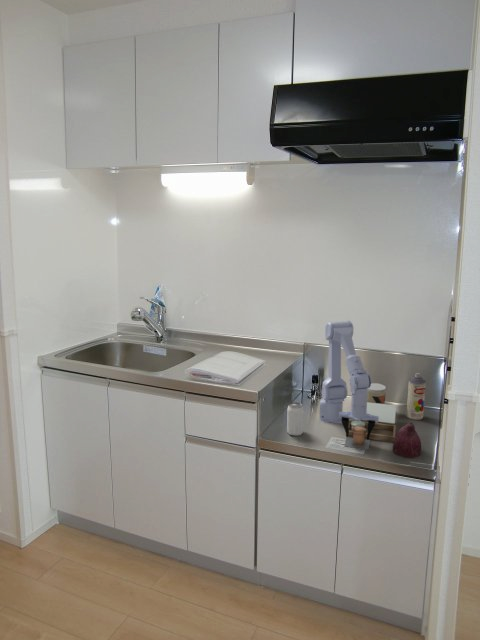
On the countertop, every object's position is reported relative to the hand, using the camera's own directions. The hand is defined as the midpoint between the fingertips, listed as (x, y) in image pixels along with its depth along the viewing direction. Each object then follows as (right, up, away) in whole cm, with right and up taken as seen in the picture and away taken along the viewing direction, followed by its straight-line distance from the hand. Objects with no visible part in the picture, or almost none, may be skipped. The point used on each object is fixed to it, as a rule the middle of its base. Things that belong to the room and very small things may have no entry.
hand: (357, 437), depth 190 cm
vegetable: (+17, -5, -6) cm, 18 cm away
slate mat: (0, -3, +1) cm, 3 cm away
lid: (+11, +6, +18) cm, 22 cm away
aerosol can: (+30, +3, +24) cm, 38 cm away
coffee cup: (+14, +4, +30) cm, 33 cm away
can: (-23, -1, +11) cm, 25 cm away
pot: (+1, -2, +1) cm, 2 cm away
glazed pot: (+2, 0, +9) cm, 9 cm away
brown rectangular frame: (+9, 0, +13) cm, 16 cm away
